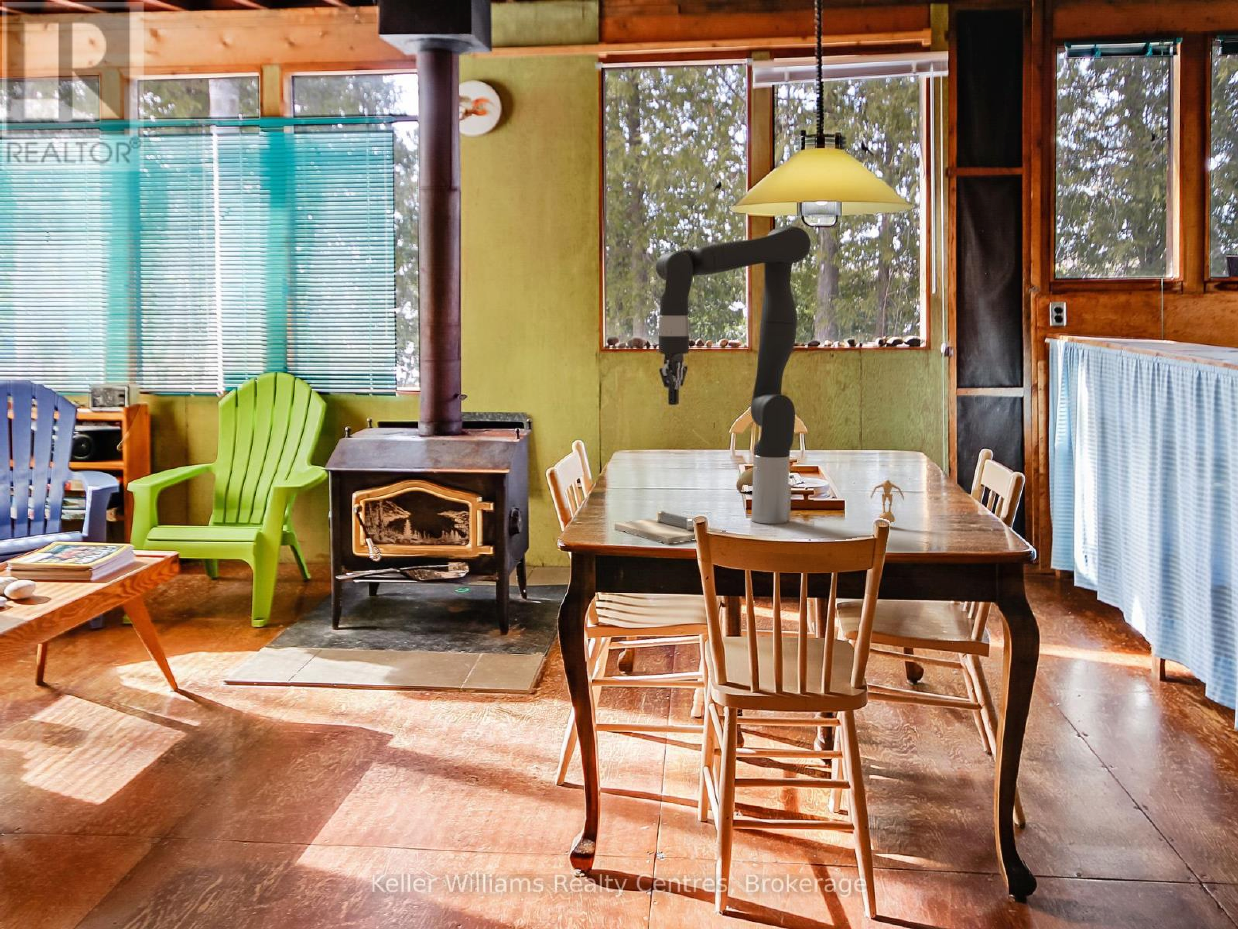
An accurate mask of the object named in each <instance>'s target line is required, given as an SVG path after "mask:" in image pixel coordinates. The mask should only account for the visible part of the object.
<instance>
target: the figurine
mask: <svg viewBox="0 0 1238 929" xmlns="http://www.w3.org/2000/svg"><path fill="white" fill-rule="evenodd" d="M880 488H882V489H883V492H884V493H882V494H881V501H882V512H881V514H879V516H878V519H879V518H883V519H887V520H889V521H890V523H891V522H894V521H896V520H895V519H896V518H895V515H894V514H893V513H892V509H891V507H892V505H893V504H892V503H893V497H894V496H893V493H891V491H892V488H893V489H896V490H898V492H899V493H900V495H901V498H902V501H904V500H905V497H904V495H903V492H902V491H901V488H900V487H899V486H897V485H895V484H894V483H892V482H891V480H889V479H886V480H885V481H884V482H883V483H880V484H879V485H876V486H875V487H874V488H873V491H872V492H871V495H870V499H873V497H874V494H875V492H876V490H877V489H880ZM887 499H888V501H889V504H888V511H886V501H887ZM894 523H895V522H894Z"/></svg>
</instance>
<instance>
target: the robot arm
mask: <svg viewBox="0 0 1238 929" xmlns="http://www.w3.org/2000/svg"><path fill="white" fill-rule="evenodd" d="M811 245H812V243H811V238H810V236H809V233H807V231H806V230H804V229H803V228H802V227H798V226H793V225H792V226H791V225H788V226H781V227H776V228H774V229H772V230H770V232H768V234H767V235H766V236H762V237H758V238H752V239H746V240H736V241H727V242H721V243H714V244H708V245H704V246H700V247H697V248H692V249H684V250H683V249H682V250H676V251H671V252H670V251H669V252H665V253H663V254H661V255H660V256H659V257H658V259H657V260H656V263H655V271H656V274H657V275H658V277H659V278H661V279H662V280H664V281H665V283H664V284H665V286H664V291H663V292H662V293H661V295H660V297H659V319H658V320H659V321H658V353H659V354H660V355H664V357H663V367H659V371H658V372H659V375H660V377H661V381H662V384H663V386H664V388H666V389H667V390H668V391H667V392H668V396H667V397H668V398H667V399H668V402H667V403H668V405H671V406H676V405H679V403H680V402H679V400H680V397H679V396H680V389H681V387H683V386H684V383H685V379H686V375H687V372H688V365H685V362H684V355H688V354H689V353H690V321H689V296H690V291H691V287H692V282H693V277H694V276H706V275H714V274H718V273H720V274H721V273H723V272H728V271H729V272H730V271H733V270H737V269H740V268H741V269H742V268H745V267H750V266H754V265H758V264H759V265H760V264H763V268H764V269H763V271H764V275H763V276H764V277H763V278H764V279H763V280H764V281H763V292H762V293H763V294H762V306H761V316H760V317H761V318H760V325H759V338H758V339H759V341H758V351H757V352H758V353H757V366H756V367H757V368H756V374H755V376H756V377H755V381H754V387H753V392H752V396H751V397H752V398H751V404H750V415H751V418H752V420H753V422H754V423H755V424H756V425H757V426H759V427H761V428H760V437H759V440H758V441H757V442H756V443H755V444H754V447H753V462H752V463H753V465H752V466H753V467H752V468H753V491H752V492H751V493H752V494H751V495H752V498H751V499H752V500H751V521H752V522H755V523H760V524H761V523H762V524H769V525H770V524H774V525H775V524H776V525H777V524H785V523H787V522H788V521H787V520H790V521H791V501H792V485H791V484H790V483H789V478H790V457H791V456H790V454H791V452H790V451H791V448H792V446H793V443H794V437H795V426H796V425H795V424H796V408H795V404H794V403H793V401H792V399H791V398H790V397H788V396H787V395H786V394H782V386H783V376H784V371H785V369H786V366H787V364H788V361H789V359H790V357H791V355H792V353H793V350H794V347H795V344H796V336H797V328H798V327H797V326H798V313H797V308H796V304H795V301H794V296H793V293H792V292H793V291H792V286H791V284H792V283H791V281H792V280H791V279H792V277H791V276H792V268H793V264H795V263H799V262H801V261H802V260H804V259H805V258H806V257H807V255H808V254H809V252H810V250H811ZM786 521H787V522H786ZM784 522H785V523H784Z"/></svg>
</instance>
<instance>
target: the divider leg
mask: <svg viewBox="0 0 1238 929" xmlns="http://www.w3.org/2000/svg"><path fill="white" fill-rule="evenodd" d="M657 518H658V522H663V523H667V524H671V525H675V526H679V527H683V528H687V530H694V527H693V520H694V518H695V517H687V516H682V515H677V514H674V513H669V512H666V511H665V510H659V511H657Z"/></svg>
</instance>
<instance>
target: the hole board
mask: <svg viewBox="0 0 1238 929" xmlns="http://www.w3.org/2000/svg"><path fill="white" fill-rule="evenodd" d="M708 529H709V530H710V531H722V532H726V533H727V530H726V529H722V528H719V527H716V526H711V525H708ZM614 530H617V531H618V532H619V531H620V532H622V531H625V532H624V533H626V532H627V534H629V533H630V534H629V535H633V534H636V535H639V536H638V537H640V536H641V538H643V537H647V538H649V539H648V540H650V539H652V540H651V541H654V540H655V541H654V542H657V541H661V542H663V543H662V544H664V543H666V544H665V545H670V544H669V543H674V542H680V541H689V540H692V539H695V534H694V530H687V528H683V527H679V526H675V525H671V524H667V523H663V522H658V517H656V518H655V517H654V518H648V519H640V520H633V521H623V522H615V523H614ZM636 535H635V536H636ZM647 538H646V539H647ZM661 542H660V543H661ZM689 542H690V541H689ZM674 544H675V543H674Z"/></svg>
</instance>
